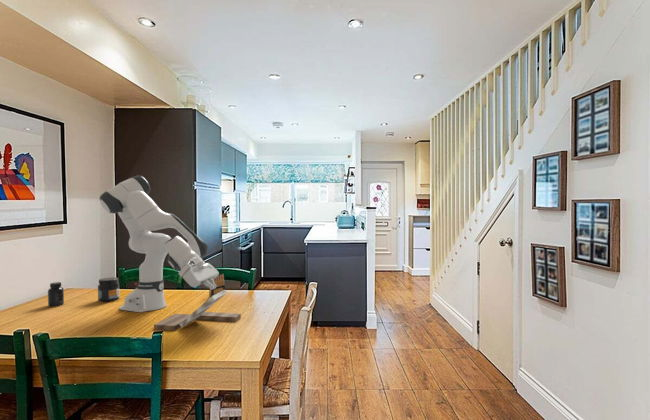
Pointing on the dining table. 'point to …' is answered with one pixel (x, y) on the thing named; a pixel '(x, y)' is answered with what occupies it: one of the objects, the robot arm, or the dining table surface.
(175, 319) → the walnut boards
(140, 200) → the robot arm
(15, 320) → the dining table surface
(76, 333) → the dining table surface
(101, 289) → the supplement container
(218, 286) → the ammunition clip
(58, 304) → the supplement bottle
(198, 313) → the ash plank
